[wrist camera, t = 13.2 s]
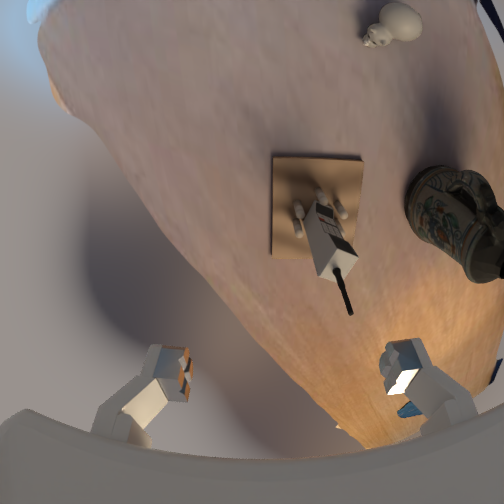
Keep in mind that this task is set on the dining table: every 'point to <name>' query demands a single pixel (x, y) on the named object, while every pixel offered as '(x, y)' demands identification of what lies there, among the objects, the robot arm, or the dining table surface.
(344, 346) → the dining table surface
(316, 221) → the vintage mobile phone
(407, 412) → the decorative plate
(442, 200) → the beer stein
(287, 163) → the pin dock
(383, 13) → the round bodied animal figurine
